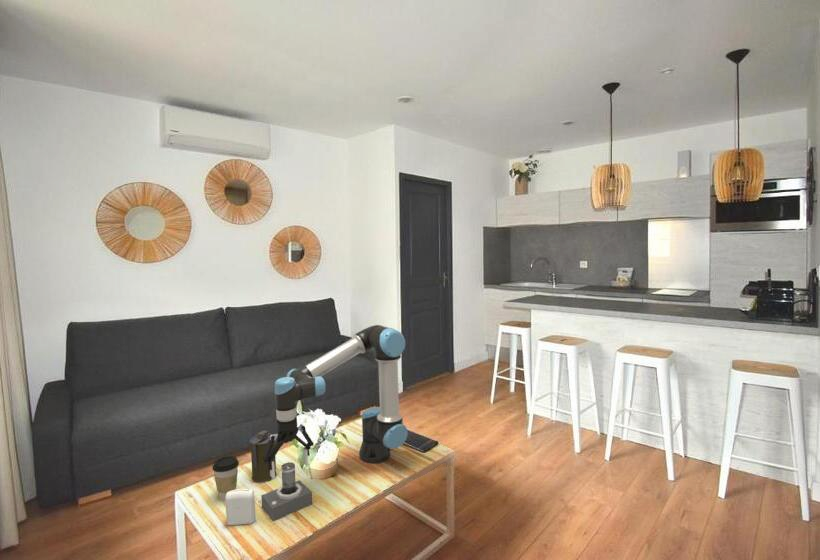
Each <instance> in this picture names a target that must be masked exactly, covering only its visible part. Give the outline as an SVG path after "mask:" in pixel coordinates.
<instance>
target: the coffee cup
mask: <svg viewBox="0 0 820 560" xmlns="http://www.w3.org/2000/svg"><path fill="white" fill-rule="evenodd" d="M239 464H240V462H239V459H238V458H237V457H236V456H234V455H226V456H222V457H220V458H218V459H216V460H215V461H214V463H213V465H212V471H213V472H214V480H215V488H216V492H217V495H218V499H219V501H220V502H225V498H226V494H227V492H229V491H232V490H236V489H237V487H238V486H237V484H238V475H239V474H238V471H239V470H238V469H239V468H238V466H239Z"/></svg>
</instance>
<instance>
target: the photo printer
mask: <svg viewBox="0 0 820 560" xmlns="http://www.w3.org/2000/svg"><path fill="white" fill-rule="evenodd" d="M255 497H256V496H255V491H254V490H253V489H250V488H236V490H232V491H229V492H227V494H226V498H225V501H224V503H225V514H226V515H225V516H226V517H225V518H226V525H227V526H237V525H248V524H253V523H254V522H256V519H257V517H256V515H257V513H256V503H255V502H256V499H255Z"/></svg>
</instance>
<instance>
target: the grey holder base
mask: <svg viewBox="0 0 820 560" xmlns="http://www.w3.org/2000/svg"><path fill="white" fill-rule="evenodd" d="M260 497H261V508H262V509H263V511H264V512H265V513H266V515H267V516H268V517H269V519H270V520H271V521H272V522H274V521H277V520H279V519H282V518H284V517H287V516H288V515H291V514H293V513H296V512H298V511H300V510H302V509H305V508H306V507H310V506H311V505H313V491H312V490H311V489H310V488H309V487H307V486H306V484H304V482H303V481H301V480H297V481H296V492H295V493H292V494H290V495H286V494H283V490H282V485H281V486H279V487H278V488H277V489H274V490H272V491H269V492H267V493H263V494H261V495H260Z"/></svg>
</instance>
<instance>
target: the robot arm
mask: <svg viewBox="0 0 820 560" xmlns="http://www.w3.org/2000/svg"><path fill="white" fill-rule="evenodd" d="M351 337H352V338H350V339H349V340H346V341H345V342H344V343H341V344H340V345H338V346H337V347H335V348H333V349H332V350H330V351H328V352H326V353H325V354H323V355H322V356H319V357H318V358H316V359H314V360H313V361H310V362H309V363H308V364H306V365H304V366H303V367H300V368H292V369H291V370H288V372H287V373H286V376H285V377H283V376H282V377H281V378H278V379H277V380H275V382H274V397H275V398H274V399H275V412H276V431H277V432H276V433H275V434H273V433H270V435H269V441H268V444H267V446H266V449H265V452H264V454H263V457H262V461H263V462H264V463H266V462H267V468H268V470H269V471H270V476H271V477H272V478H273V479H272V480H274V479H276V477H275V468H274V461H273V459H274V457H275V458H276V456H277V454H278V452H279V450H280V449H281V447H282V446H283V445H284V444H288V443H291V442H293V441H294V440H296V441H297V442H298V443H300V444H301V445H302V446H303V447H302V463H303V464H304V466H306V467H307V466H309V458H308V457H310V450H311V447H313V446H314V441H313V440H312V439H311V437H310V435H309V434H308V432H307V430H306V426H305V425H303V424H299V426H298V417H297V414H298V413H297V402H299V401H303V400H307V399H311V398H315V397H319V396H322V395H324V394H325V393H326V381H325V379H324V378H323V377H322V376H324V375H326V374H327V373H329V372H331V371H332V370H334V369H336V368H337V367H339V366H340V365H342V364H344V363H345V362H347V361H349V360H351V359H353V358H354V357H355V356H357V355H359V354H365V353H366V352H369V351H374V360H375V361H376V362H377V363H378V390H379V406H373V407H369V408H366V409H364V410H363V411H362V413H361V423H362V424H361V426H362V428H361V429H362V430H361V431H362V441H361V445H360V449H359V453H358V455H359V456H358V457H359V459H360V461H363V462H365V463H368V464H378V463H383V462H386V461H387V460H389V459H390V457H391V453H392V452H391V450H395V449H398V448H401V446H403V445H404V443H405V442H406V440H407V438H408V434H409V432H408V428H407V427H406V425H405V424H403V421H404V420H403V414H402V413H401V412H400V411H399V410H400V403H399V373H398V372H399V369H398V368H399V366H398V365H399V360H400V359H401V357H402V354H403V351H405V348H406V338H405V337H404V335H403V333H402V332H400V331H399V330H397V329H395V328H393V327H387V326H383V325H380V324H374V325H371V326H368V327H366V328H363V329H362V330H360V331H358V332H356V333H355V334H353V335H352V336H351ZM298 432H300V433H301V434H302V436H303V437H304V439H305V440H306V442H307V443H306V442H305V441H304V440H303V439H301V438H300V437H299V436H298ZM272 434H273V435H272ZM274 441H275V446H274V447H273V445H274ZM272 447H273V449H272ZM271 450H272V451H271ZM388 458H389V459H388ZM385 460H386V461H385Z"/></svg>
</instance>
